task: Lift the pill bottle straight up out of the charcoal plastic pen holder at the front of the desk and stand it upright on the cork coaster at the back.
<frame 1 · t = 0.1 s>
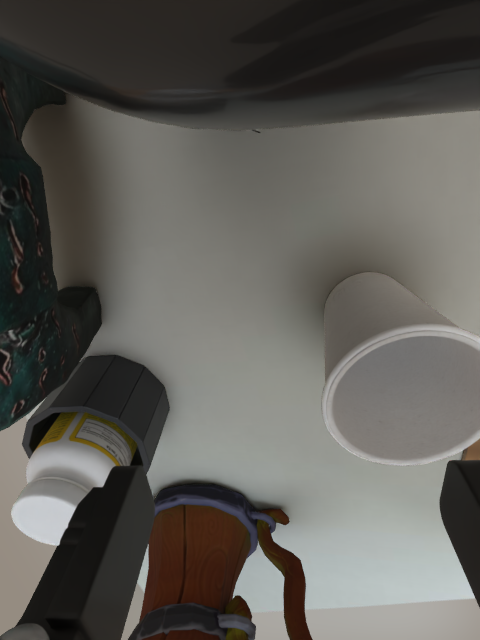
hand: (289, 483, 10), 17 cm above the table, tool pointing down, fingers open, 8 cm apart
ceramic cat: (64, 195, 24), on the table
pill bottle: (117, 397, 32), resting in pen holder
pen holder: (116, 399, 32), on the table
dixie cup: (364, 308, 27), on the table
mug: (234, 512, 38), on the table
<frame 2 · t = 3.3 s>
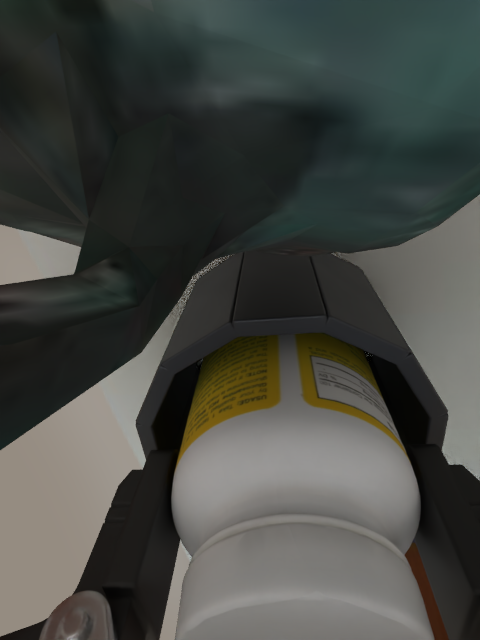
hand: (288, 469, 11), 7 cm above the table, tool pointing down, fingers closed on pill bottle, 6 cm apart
pill bottle: (280, 340, 17), resting in pen holder, touching gripper
pen holder: (281, 343, 16), on the table
mug: (433, 547, 23), on the table
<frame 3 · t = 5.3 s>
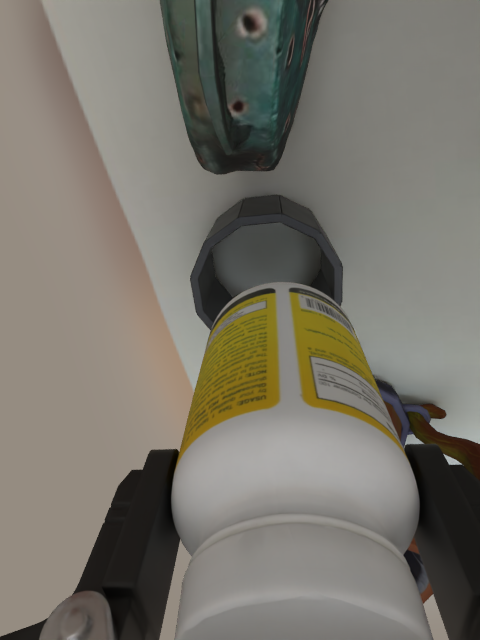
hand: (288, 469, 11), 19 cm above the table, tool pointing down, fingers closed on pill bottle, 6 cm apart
pill bottle: (280, 341, 17), point 12 cm above the table, touching gripper
pen holder: (266, 258, 28), on the table
mug: (373, 412, 34), on the table
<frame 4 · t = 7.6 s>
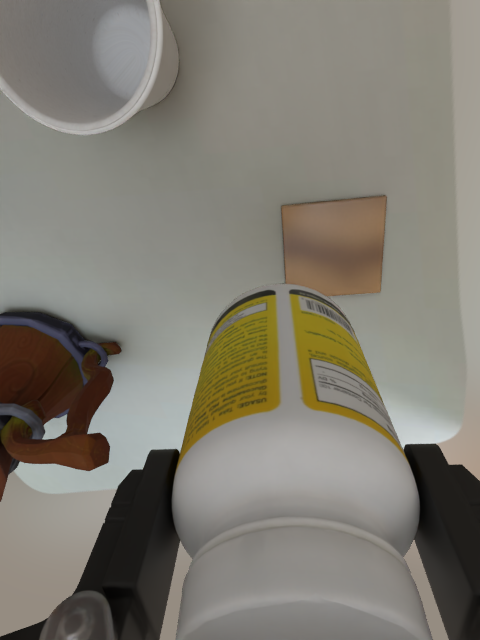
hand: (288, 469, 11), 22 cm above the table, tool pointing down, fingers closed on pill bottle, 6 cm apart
pill bottle: (280, 342, 17), point 15 cm above the table, touching gripper
dixie cup: (136, 57, 25), on the table
cork coaster: (332, 249, 30), on the table
mug: (73, 352, 36), on the table
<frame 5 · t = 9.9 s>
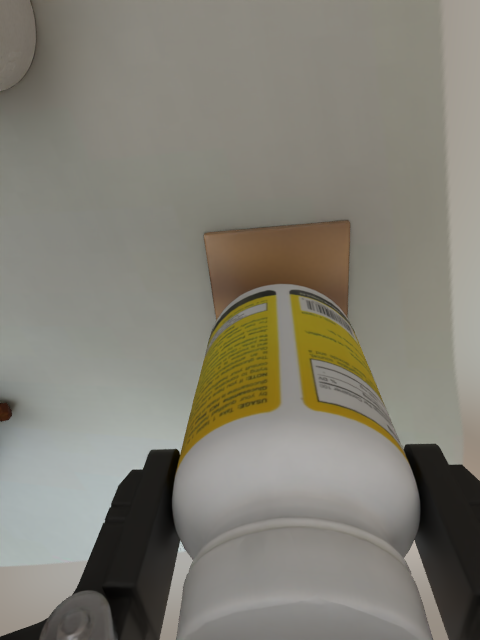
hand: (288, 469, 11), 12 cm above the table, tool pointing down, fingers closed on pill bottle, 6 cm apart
pill bottle: (281, 342, 17), point 5 cm above the table, touching gripper
cork coaster: (279, 291, 21), on the table
when the fingers open (7 cm above the table, at t = 11.7 s): pill bottle stays where it is, resting on cork coaster.
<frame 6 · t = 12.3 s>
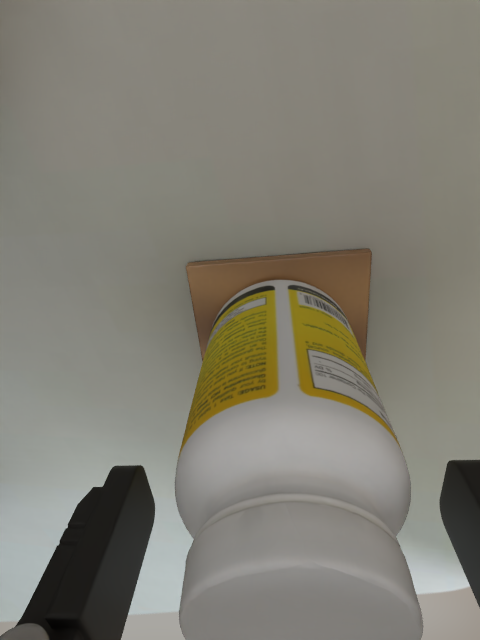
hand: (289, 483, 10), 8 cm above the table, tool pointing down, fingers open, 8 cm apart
pill bottle: (279, 337, 17), resting on cork coaster
cork coaster: (280, 333, 17), on the table
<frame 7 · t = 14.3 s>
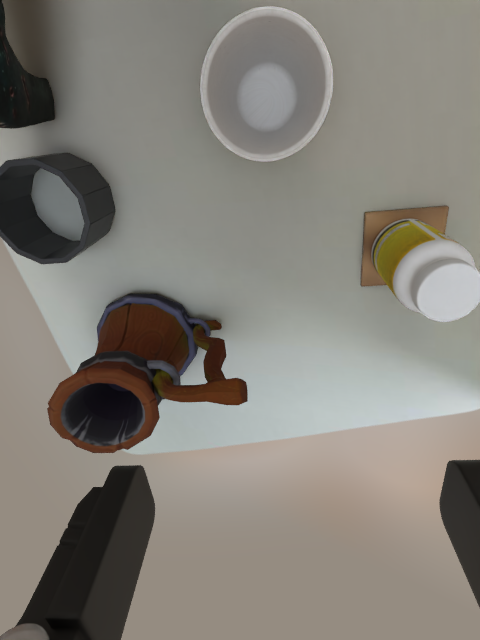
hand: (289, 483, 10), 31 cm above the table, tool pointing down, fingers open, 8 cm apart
pill bottle: (401, 248, 37), resting on cork coaster
pen holder: (70, 201, 38), on the table
dixie cup: (266, 99, 33), on the table
cork coaster: (401, 247, 38), on the table
mug: (177, 328, 44), on the table
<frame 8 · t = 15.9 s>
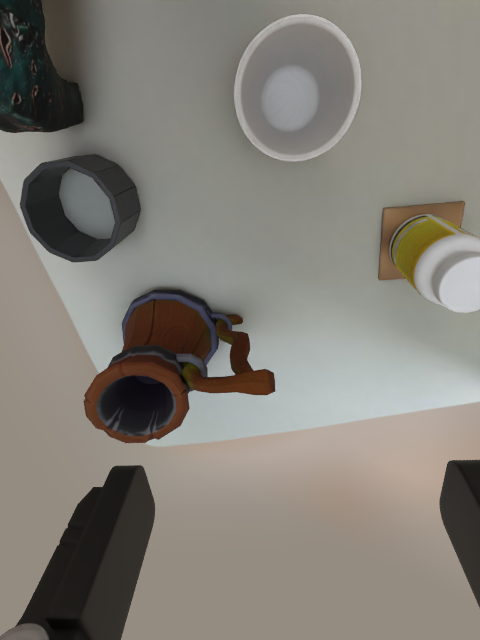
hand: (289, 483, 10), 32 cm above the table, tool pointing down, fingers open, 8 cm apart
pill bottle: (418, 243, 38), resting on cork coaster
pen holder: (97, 201, 39), on the table
dixie cup: (289, 99, 34), on the table
cork coaster: (418, 242, 39), on the table
mug: (198, 323, 45), on the table
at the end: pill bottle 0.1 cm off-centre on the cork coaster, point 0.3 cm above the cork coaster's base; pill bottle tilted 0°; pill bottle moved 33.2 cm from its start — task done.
